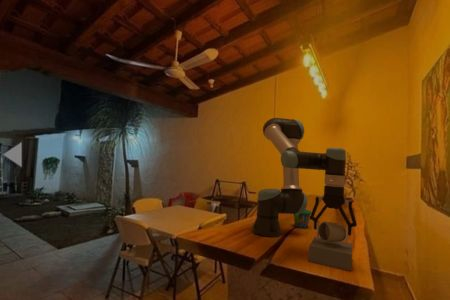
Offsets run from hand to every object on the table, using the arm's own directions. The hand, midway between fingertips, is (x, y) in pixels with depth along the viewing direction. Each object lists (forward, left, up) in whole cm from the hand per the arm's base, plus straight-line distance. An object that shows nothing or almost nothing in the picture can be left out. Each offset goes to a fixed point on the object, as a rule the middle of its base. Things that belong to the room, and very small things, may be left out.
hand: (331, 240), depth 102 cm
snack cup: (-20, +48, -8) cm, 53 cm away
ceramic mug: (-1, +1, -1) cm, 1 cm away
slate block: (0, 0, -8) cm, 8 cm away
